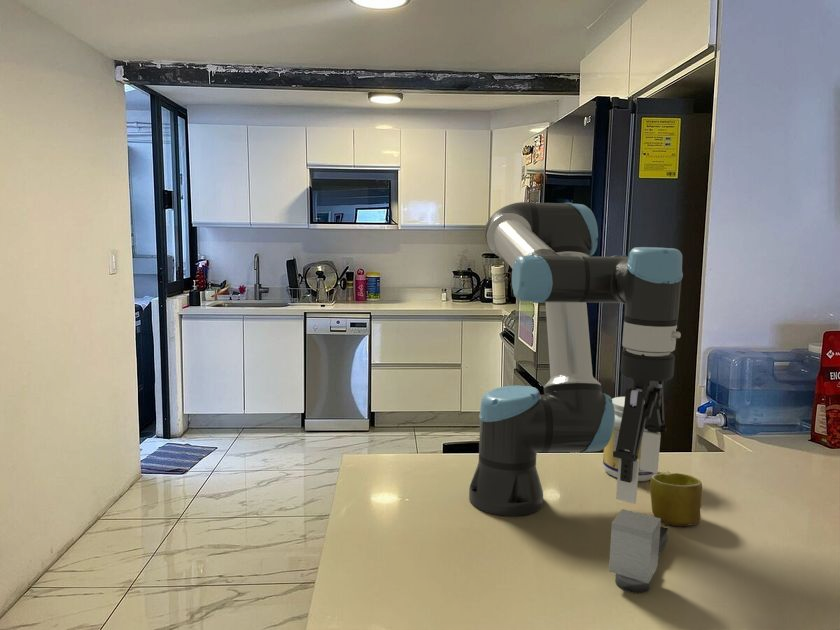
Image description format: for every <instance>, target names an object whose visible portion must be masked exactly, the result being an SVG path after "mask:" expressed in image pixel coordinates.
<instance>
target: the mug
mask: <svg viewBox="0 0 840 630" xmlns="http://www.w3.org/2000/svg"><path fill="white" fill-rule="evenodd" d="M649 481H650V482H649V491H650V499H651V501H650V503H651V510H652V511H651V512H652V514H653V517H657V518H661V523H663V524H664V525H671V526H676V527H677V526H678V527H679V526H682V527H683V526H685V527H686V526H690V525H691V526H693V525H696V524H699V523H700V521H701V509H702V508H701V507H702V495H703V484H702V481H701V479H699V478H698V477H695V476H693V475H691V474H686V473H679V472H678V473H677V472H674V473H672V472H670V471H669V470H660V471H659V472H657V474H656V475H653V476H652V477H651V480H649Z"/></svg>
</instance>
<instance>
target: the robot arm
mask: <svg viewBox="0 0 840 630" xmlns="http://www.w3.org/2000/svg"><path fill="white" fill-rule="evenodd" d="M598 230H599V229H598V223H597V219H596V217H595V215H594V212H593V211H592V209H590V208H589V207H588V206H586V205H585V204H582V203H581V204H580V203H572V202H559V203H557V202H528V201H527V202H525V201H522V202H521V201H519V202H514V203H510V204H508V205H505V206H503V207H501V208H499V209H497V211H495V212H494V213H492V215H491V216H490V217H489V219H488V220H487V223H486V224H485V229H484V239H485V243H486V245H487V247H488V248H489V250H490V251H491V252H492V253H493V254H495V256H496V257H499V258H502V259H504V260H505V262H506V263H507V264H508V265H509V266H510V268H511V269H512V270H511V288H512V290H513V296H514V297H515V299H516V300H518V301H519V302H531V303H533V304H534V303H535V304H540V303H541V304H542V303H545V314H546V327H547V328H546V329H547V331H546V332H547V342H548V344H547V345H548V357H549V358H548V359H549V361H548V362H549V375H550V378H549V380H548V381H547V383H546V384H544V386H543V394H540V391H539V390H538V388H536V387H533V386H532V385H531V386H529V385H520V384H519V385H505V386H501V387H500V386H499V387H497V388H494V389H490V390H489V391H487V392H486V393H485V394H484V395H483V396H482V398H481V401H480V408H479V409H480V410H479V415H478V419H479V439H478V440H479V443H478V463H477V466H476V468H475V471H474V474H473V477H472V479H471V482H470V484H469V489H468V500H469V502H470V503H471V504H472V505H473V506H474V507H475V508H477V509H479V510H481V511H482V512H486V513H489V514H493V515H496V516H497V515H499V516H506V517H507V516H508V517H519V516H526V515H527V516H528V515H530V514H533V513H536V512H538V511H539V510H541V508H542V507H543V505H544V491H543V487H542V483H541V480H540V476H539V473H538V470H537V453H582V454H583V453H586V452H587V453H588V452H589V453H591V452H599V451H602V450H604V448H605V447H606V446H607V444H608V443H609V441H610V439H611V436H612V433H613V429H614V422H615V410H614V404H613V403H612V399H613V398H612V396H610V395H609V394H606V393H604V392H602V384H601V382H599V381H598V380H597V379H596V378H595V377H594V375H593V364H592V353H591V342H590V341H591V340H590V329H589V317H588V316H589V315H588V305H587V303H594V304H595V303H596V304H598V303H599V304H623V305H624V317H623V318H624V319H623V328H622V329H623V332H622V342H621V344H622V345H621V346H622V347H623V348H624V349H623V350H622V352H621V359H620V360H621V361H620V372H621V374H622V375H623V376H624V377H626V378H631V380H633V383H632V387H629V389H626V390H625V392H624V397H625V403H624V410H623V415H622V420H621V425H620V430H619V436H618V441H617V446H616V451H613V457H616V458H619V464H618V478H617V482H616V492H615V494H616V495H615V499H616V500H618V501H622V502H625V503H631V504H634V505H636V503H637V496H638V495H637V494H638V482H639V481H638V471H639V459H638V453H639V449H640V445H641V457H640V470H644V471H648V472H653V473H657V474H658V473H659V472H658V471H659V462H660V461H659V460H660V459H659V458H660V447H661V435H662V434H666V432H667V426H665V422H666V420H665V403H664V402H665V400H664V399H665V398H664V397H665V396H664V382H666V381H669V380H672V379H673V377H674V372H675V371H674V369H675V359H676V356H675V355H674V353H672V352H674V351H675V350H676V344H677V339H680V338H681V337H682V336H681V335H682V334H681V332H680V331H677V329H678V320H679V312H680V311H679V310H680V301H681V293H682V292H681V291H682V284H683V283H682V281H683V280H682V279H683V277H684V273H683V254H682V252H681V250H679V249H677V248H672V247H670V248H669V247H657V246H655V247H654V246H653V247H651V246H649V247H648V246H639V247H638V246H636V247H633V248H632V249H631V250H630V252H628V253H629V254H628V255H612V256H593V255H594V254H595V252H596V251H597V248H598V239H599V231H598ZM644 428H645V429H646V430H648V431H644ZM658 432H660V434H659V433H658ZM661 433H662V434H661ZM641 440H642V444H641ZM625 449H626V450H629V451H630V452H629V451H625Z"/></svg>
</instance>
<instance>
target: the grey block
mask: <svg viewBox="0 0 840 630" xmlns="http://www.w3.org/2000/svg"><path fill="white" fill-rule="evenodd" d="M661 524H662V522H661V518H657V517H655V516H654V515H648V514H644V513H639V512H637V511H632V510H628V509H624V508H622V509H621V510H620V511H619V512H618V514H617V516H616V517H615V518H614V519H613V521H612V522H611V529H610V530H611V532H610V533H611V534H610V544H609V546H610V548H609V549H610V550H609V563H608V564H609V566H608V572H609V573H612V574H614V575H616V574H619V575H622V576H625V577H629V578H632V579H635V580H639V581H642V582H645V583H648V584H649V582H650V583H651V580H652V578H653V576H654V573H655V572H656V571H657V569H658V564H659V557H658V553H659V539H660V526H661Z"/></svg>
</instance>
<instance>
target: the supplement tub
mask: <svg viewBox="0 0 840 630" xmlns="http://www.w3.org/2000/svg"><path fill="white" fill-rule="evenodd" d="M611 399H612V403H613V404H614V410H615V422H614V429H613V433H612V436H611V439H610V441H609V443H608V444H607V446H606V447H605V448H604V449H603V459H602V467H603V469H604V471H605V472H606V473H607V474H608V475H611V476H612V477H614V478H618V464H619V458H616V457H613V451H616V446H617V441H618V436H619V430H620V425H621V420H622V415H623V410H624V403H625V396H616V397H613V398H611ZM644 431H648V430H646V429H645V428H644ZM658 433H659V434H661V432H658ZM641 444H642V440H641ZM625 451H629V450H626V449H625ZM629 452H630V451H629ZM640 457H641V445H640V449H639V453H638V459H639V471H638V482H647V481H651V477H652V476H653V475H656V474H658V472H657V473H653V472H648V471H644V470H640Z"/></svg>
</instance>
